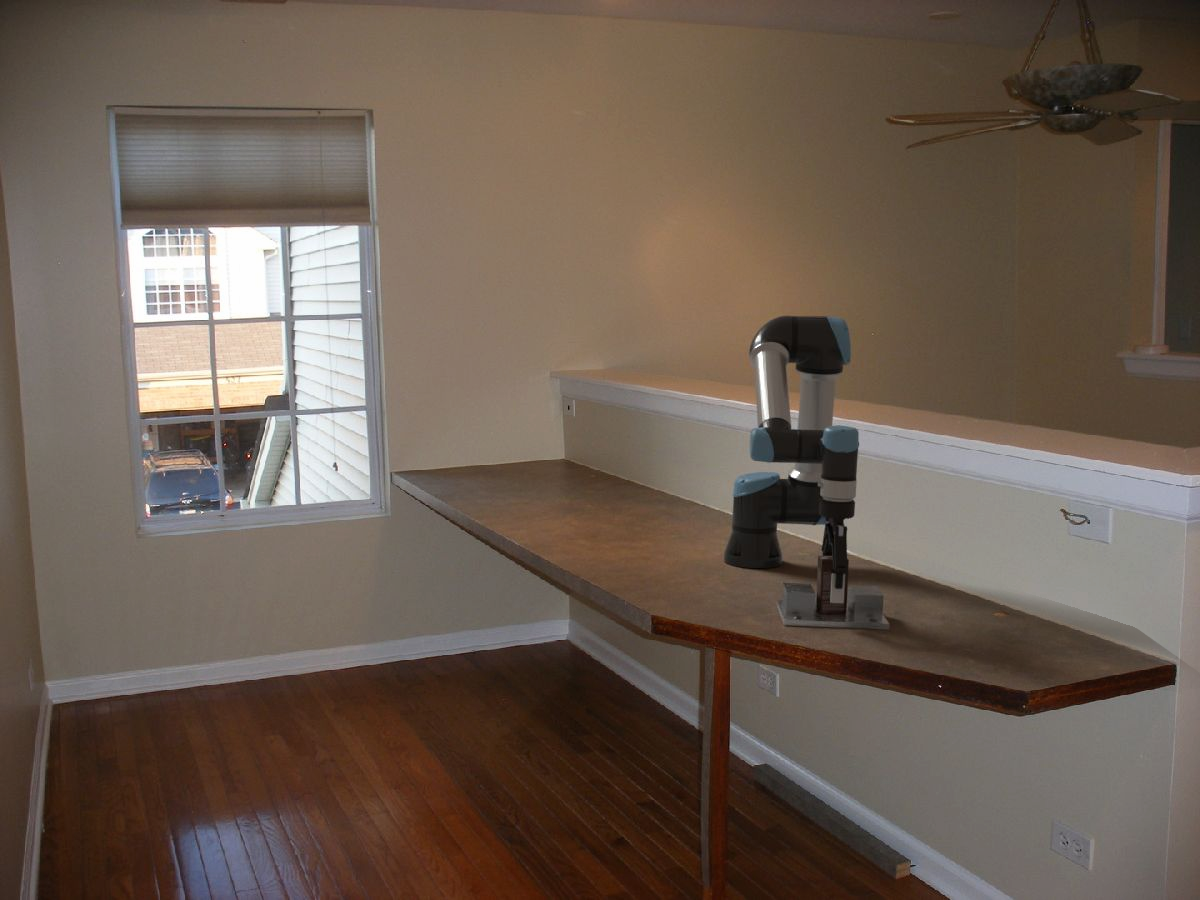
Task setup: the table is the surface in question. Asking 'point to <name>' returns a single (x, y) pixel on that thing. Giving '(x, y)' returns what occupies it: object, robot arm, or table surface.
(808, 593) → the wall mount bracket
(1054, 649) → the table surface
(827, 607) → the box
